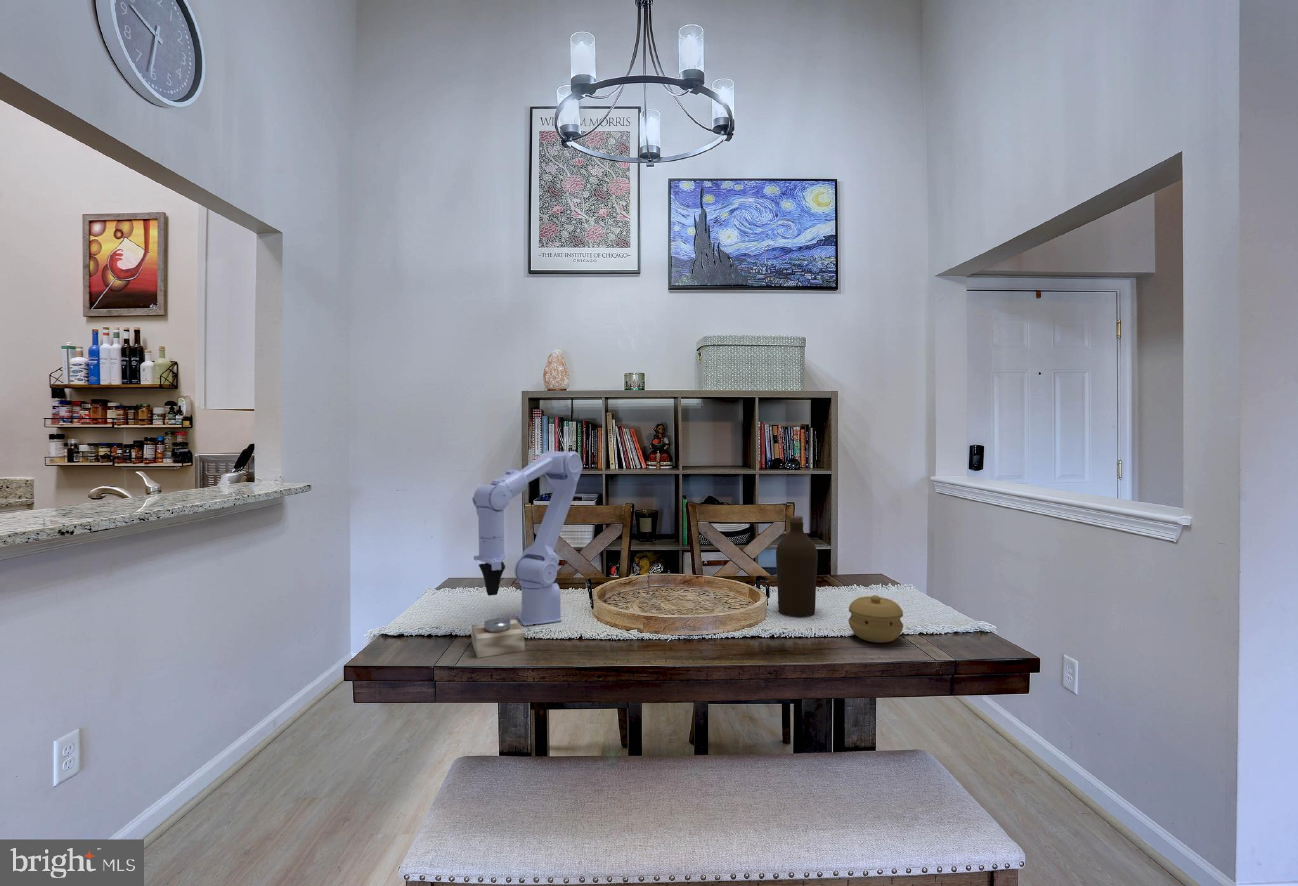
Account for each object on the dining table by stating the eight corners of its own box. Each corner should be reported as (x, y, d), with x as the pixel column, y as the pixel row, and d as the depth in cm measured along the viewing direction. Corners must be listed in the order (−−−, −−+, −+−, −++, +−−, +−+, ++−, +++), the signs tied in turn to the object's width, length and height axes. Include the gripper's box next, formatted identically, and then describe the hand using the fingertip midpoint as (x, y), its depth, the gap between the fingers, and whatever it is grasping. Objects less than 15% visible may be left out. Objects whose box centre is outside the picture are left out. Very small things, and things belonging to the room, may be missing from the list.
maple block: (516, 636, 144) (515, 619, 144) (524, 650, 135) (524, 632, 135) (471, 642, 140) (471, 625, 140) (477, 657, 131) (477, 639, 131)
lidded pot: (879, 628, 148) (879, 586, 148) (915, 644, 137) (915, 600, 136) (837, 633, 144) (837, 591, 144) (870, 651, 133) (871, 605, 133)
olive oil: (796, 620, 154) (796, 521, 153) (767, 610, 163) (767, 515, 162) (826, 613, 159) (826, 517, 159) (796, 603, 168) (796, 512, 168)
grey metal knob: (508, 638, 141) (507, 616, 141) (512, 646, 136) (512, 624, 136) (482, 642, 139) (482, 620, 139) (486, 650, 134) (486, 627, 134)
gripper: (469, 532, 148) (470, 588, 149) (477, 543, 135) (478, 604, 135) (499, 530, 151) (500, 585, 151) (510, 540, 138) (511, 601, 138)
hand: (492, 594), depth 144 cm, fingers closed
